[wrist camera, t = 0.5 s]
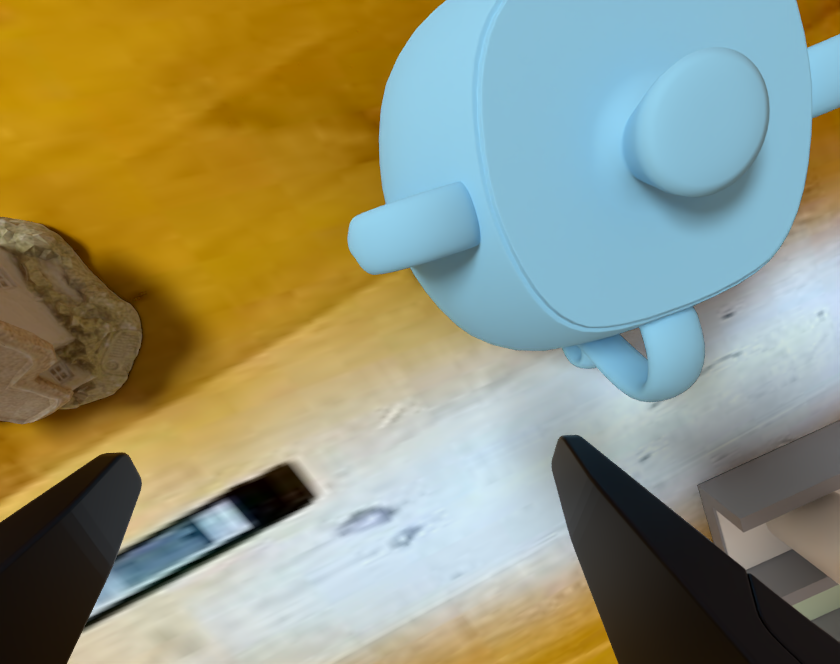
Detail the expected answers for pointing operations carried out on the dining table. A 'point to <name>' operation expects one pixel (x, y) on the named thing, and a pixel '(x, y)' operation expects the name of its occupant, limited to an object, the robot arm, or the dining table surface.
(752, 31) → the decorative pot
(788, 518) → the white capped canister
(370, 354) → the dining table surface
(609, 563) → the robot arm
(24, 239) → the ceramic model
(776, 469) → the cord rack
